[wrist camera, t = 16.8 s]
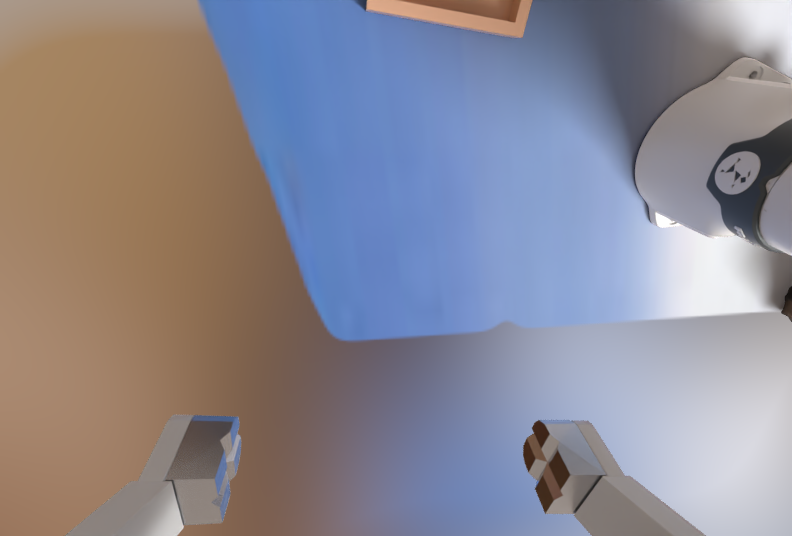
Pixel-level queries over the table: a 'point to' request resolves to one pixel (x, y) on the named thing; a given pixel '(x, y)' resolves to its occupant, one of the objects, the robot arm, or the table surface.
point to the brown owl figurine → (788, 304)
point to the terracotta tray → (461, 14)
